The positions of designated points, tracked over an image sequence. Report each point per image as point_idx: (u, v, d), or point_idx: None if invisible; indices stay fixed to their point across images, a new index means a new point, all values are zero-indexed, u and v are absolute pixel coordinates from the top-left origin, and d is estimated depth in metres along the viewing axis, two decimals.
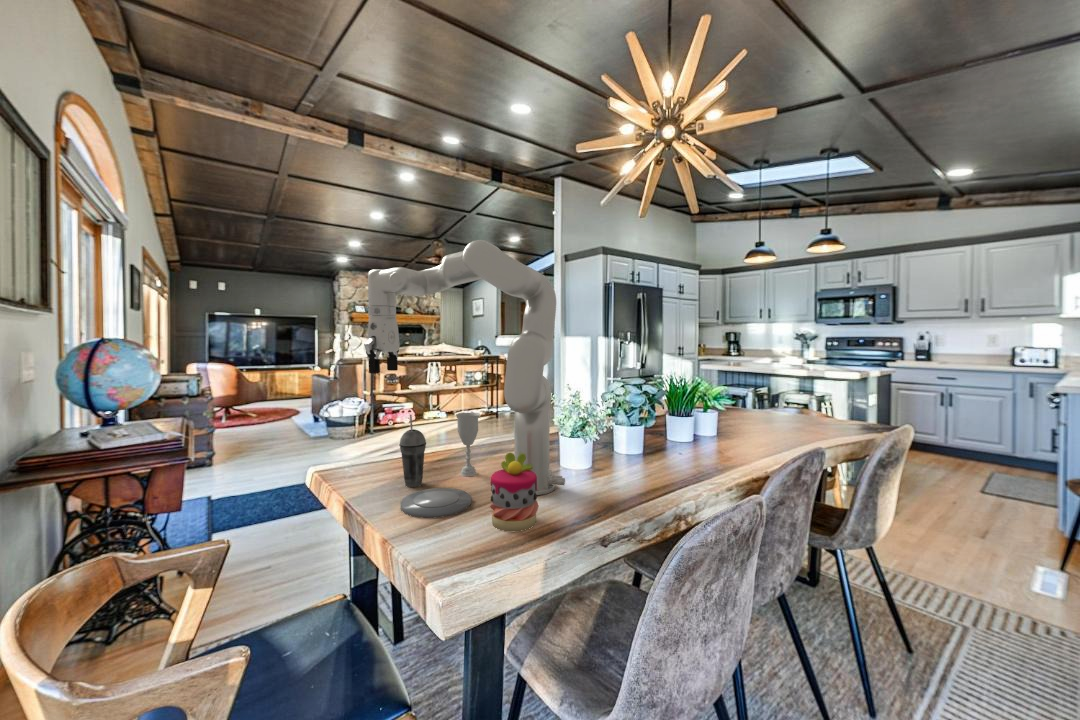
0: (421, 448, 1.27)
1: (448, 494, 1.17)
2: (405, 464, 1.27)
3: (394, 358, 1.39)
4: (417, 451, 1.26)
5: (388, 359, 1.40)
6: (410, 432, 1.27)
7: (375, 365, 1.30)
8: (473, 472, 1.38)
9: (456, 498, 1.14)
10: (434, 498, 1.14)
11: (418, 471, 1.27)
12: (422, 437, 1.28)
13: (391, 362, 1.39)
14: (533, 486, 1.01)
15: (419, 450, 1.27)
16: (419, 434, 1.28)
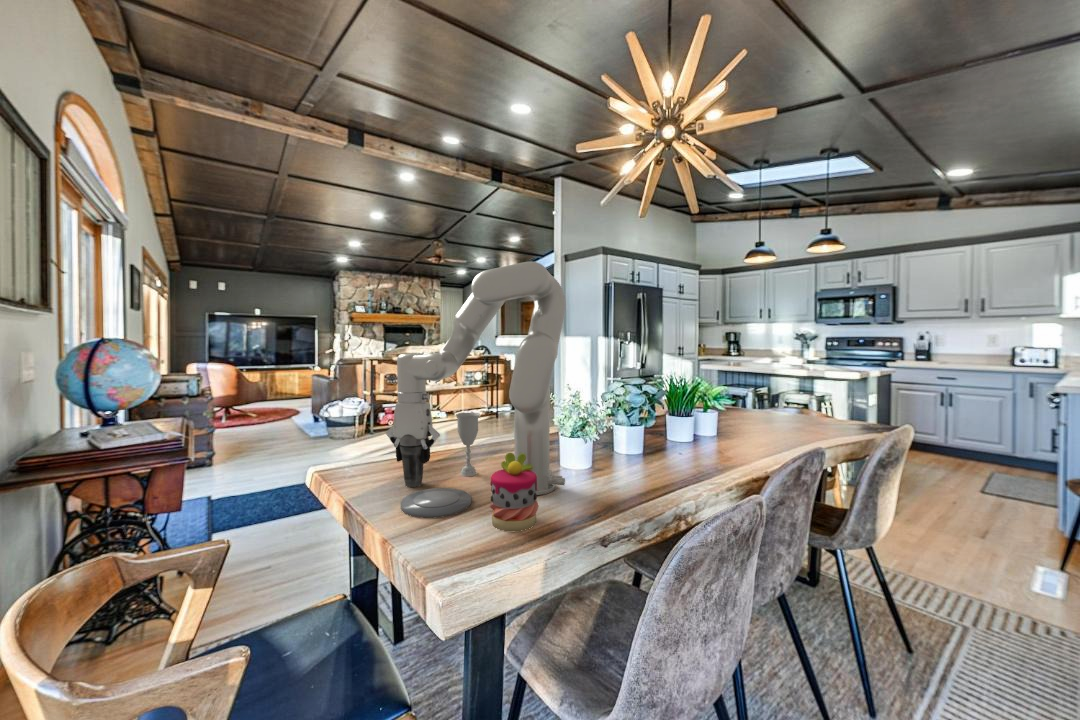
0: (421, 448, 1.27)
1: (448, 494, 1.17)
2: (405, 464, 1.27)
3: None
4: (417, 451, 1.26)
5: None
6: None
7: None
8: (473, 472, 1.38)
9: (456, 498, 1.14)
10: (434, 498, 1.14)
11: (418, 471, 1.27)
12: None
13: None
14: (533, 486, 1.01)
15: (419, 450, 1.27)
16: None
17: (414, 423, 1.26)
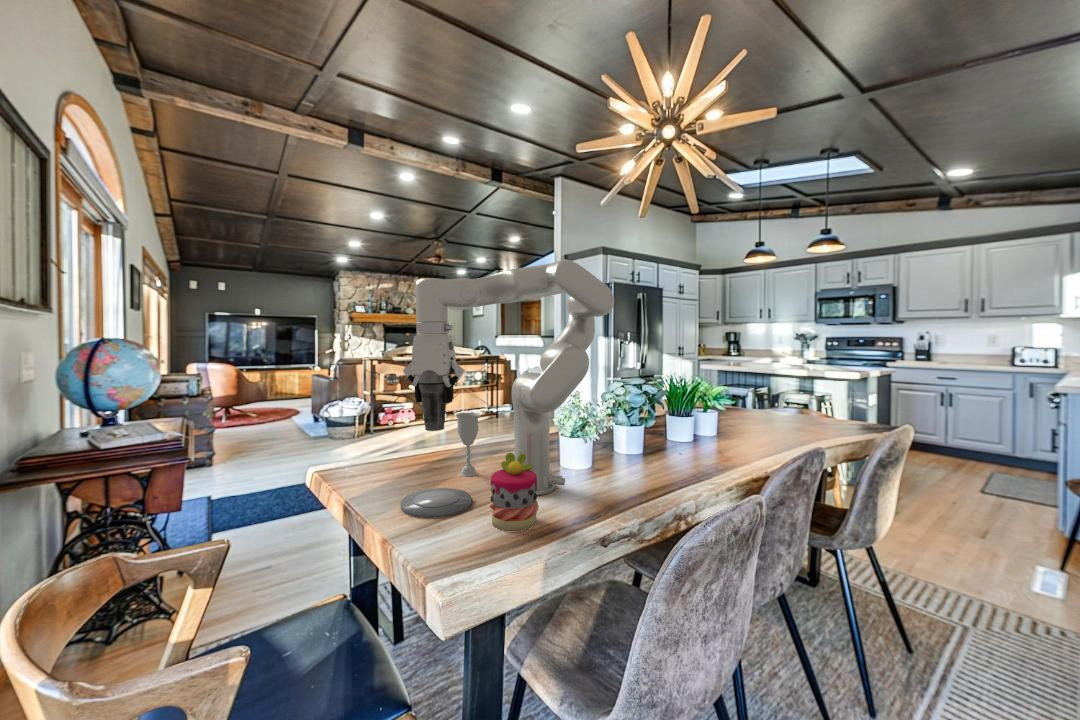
0: (443, 386, 1.12)
1: (448, 494, 1.17)
2: (425, 404, 1.12)
3: None
4: (438, 389, 1.11)
5: (419, 388, 1.14)
6: None
7: None
8: (473, 472, 1.38)
9: (456, 498, 1.14)
10: (434, 498, 1.14)
11: (440, 413, 1.12)
12: None
13: None
14: (533, 486, 1.01)
15: (441, 388, 1.11)
16: None
17: (435, 357, 1.10)
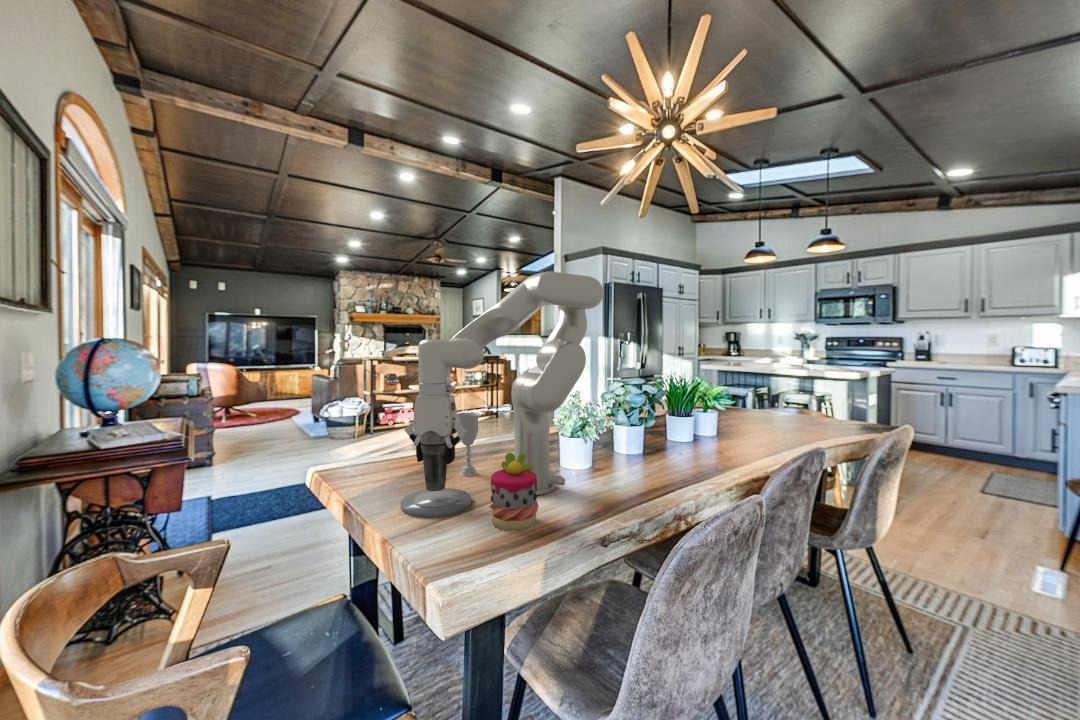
0: (445, 447, 1.12)
1: (448, 494, 1.17)
2: (427, 465, 1.12)
3: None
4: (440, 450, 1.11)
5: (420, 448, 1.14)
6: None
7: None
8: (473, 472, 1.38)
9: (456, 498, 1.14)
10: (434, 498, 1.14)
11: (441, 473, 1.12)
12: None
13: None
14: (533, 486, 1.01)
15: (443, 449, 1.12)
16: None
17: (438, 418, 1.11)
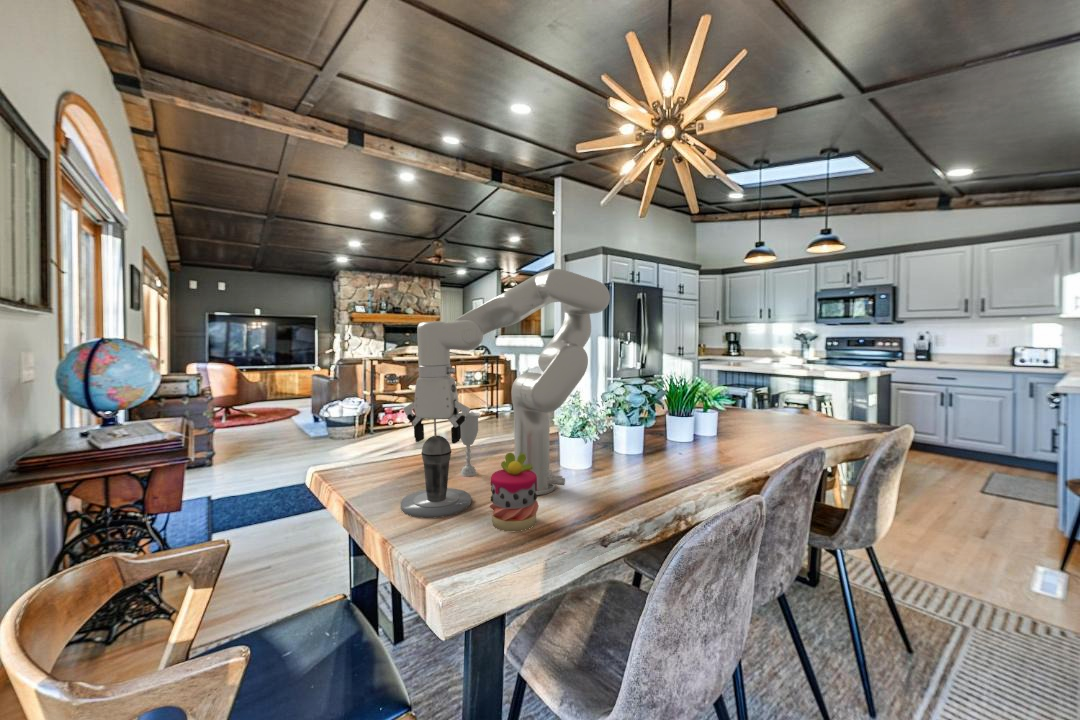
0: (446, 457, 1.12)
1: (448, 494, 1.17)
2: (428, 475, 1.12)
3: (422, 425, 1.16)
4: (441, 460, 1.11)
5: (418, 428, 1.14)
6: (434, 439, 1.12)
7: None
8: (473, 472, 1.38)
9: (456, 498, 1.14)
10: None
11: (442, 483, 1.12)
12: (447, 444, 1.13)
13: (420, 431, 1.15)
14: (533, 486, 1.01)
15: (444, 459, 1.12)
16: (444, 441, 1.13)
17: (438, 400, 1.11)
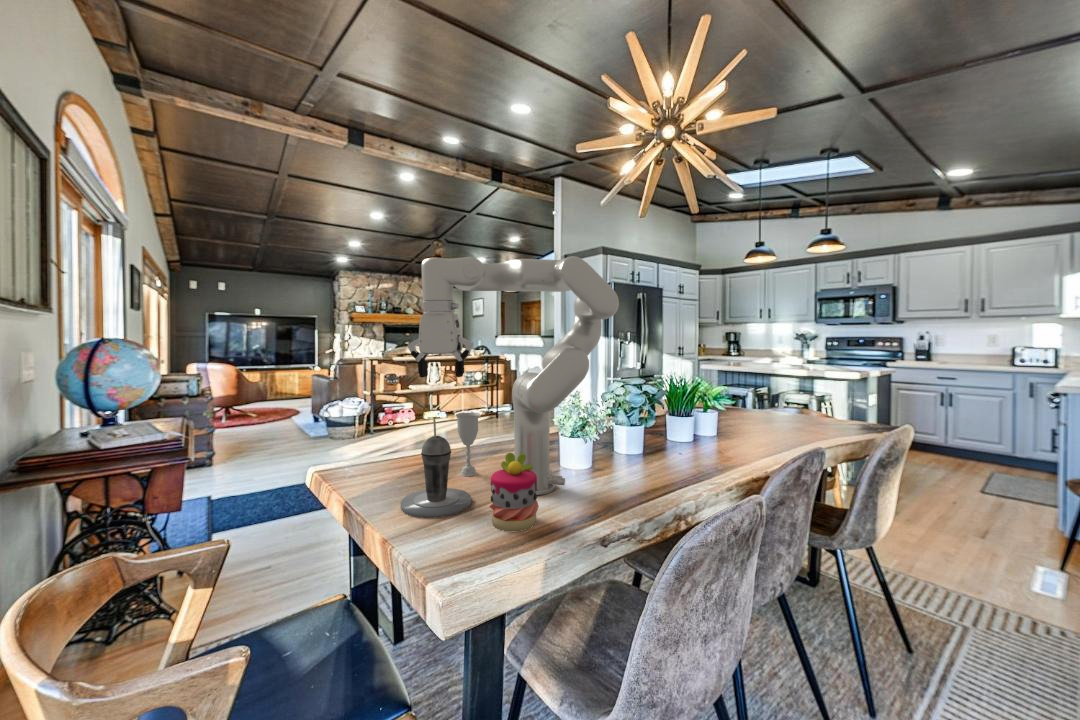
0: (446, 457, 1.12)
1: (448, 494, 1.17)
2: (428, 475, 1.12)
3: (425, 362, 1.18)
4: (441, 460, 1.11)
5: (422, 364, 1.17)
6: (434, 439, 1.12)
7: None
8: (473, 472, 1.38)
9: (456, 498, 1.14)
10: None
11: (442, 484, 1.12)
12: (447, 445, 1.13)
13: (424, 367, 1.18)
14: (533, 486, 1.01)
15: (444, 460, 1.11)
16: (443, 441, 1.12)
17: (443, 335, 1.13)
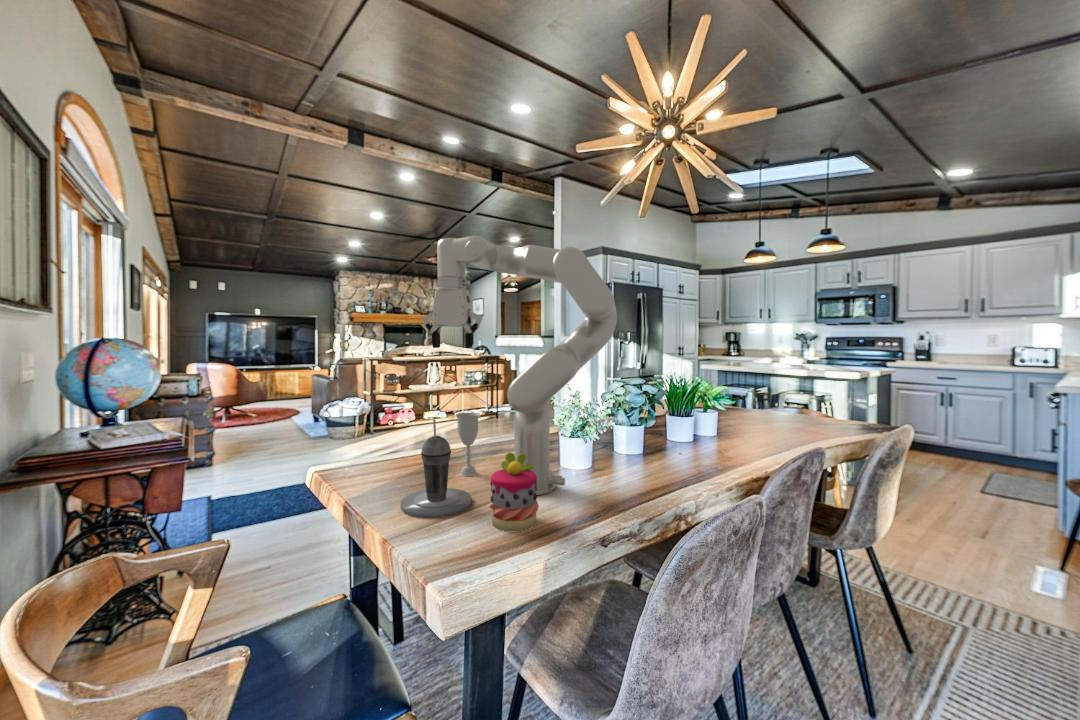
0: (446, 457, 1.12)
1: (448, 494, 1.17)
2: (428, 476, 1.11)
3: (439, 334, 1.29)
4: (441, 461, 1.11)
5: (436, 335, 1.27)
6: (433, 439, 1.12)
7: None
8: (473, 472, 1.38)
9: (456, 498, 1.14)
10: None
11: (442, 484, 1.12)
12: (447, 445, 1.13)
13: (437, 338, 1.28)
14: (533, 486, 1.01)
15: (444, 460, 1.11)
16: (443, 441, 1.12)
17: (455, 308, 1.24)
